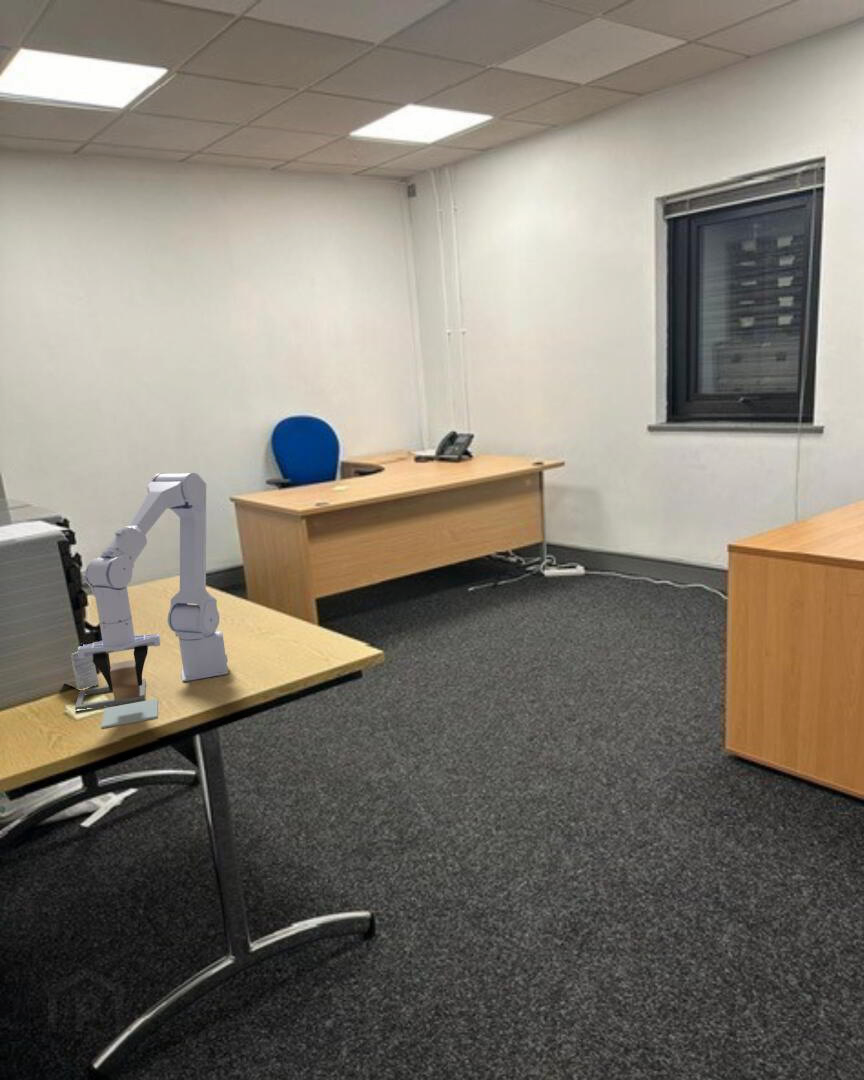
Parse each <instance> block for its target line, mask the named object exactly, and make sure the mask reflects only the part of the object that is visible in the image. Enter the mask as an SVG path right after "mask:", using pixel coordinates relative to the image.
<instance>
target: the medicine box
mask: <svg viewBox="0 0 864 1080" xmlns="http://www.w3.org/2000/svg"><path fill="white" fill-rule="evenodd" d="M71 661H72V666H73V671H74V675H75V681H76V686H77V688H78V689H83V688H87V687H91V686H94V687H97V686H98V685H99V679H98V674H97V667H96V665H95V664H94V662H93V656H87V657H85V658H82V659H79V655H78V651H77V652H75V653H72V654H71ZM96 685H97V686H96ZM91 688H92V687H91Z"/></svg>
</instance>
